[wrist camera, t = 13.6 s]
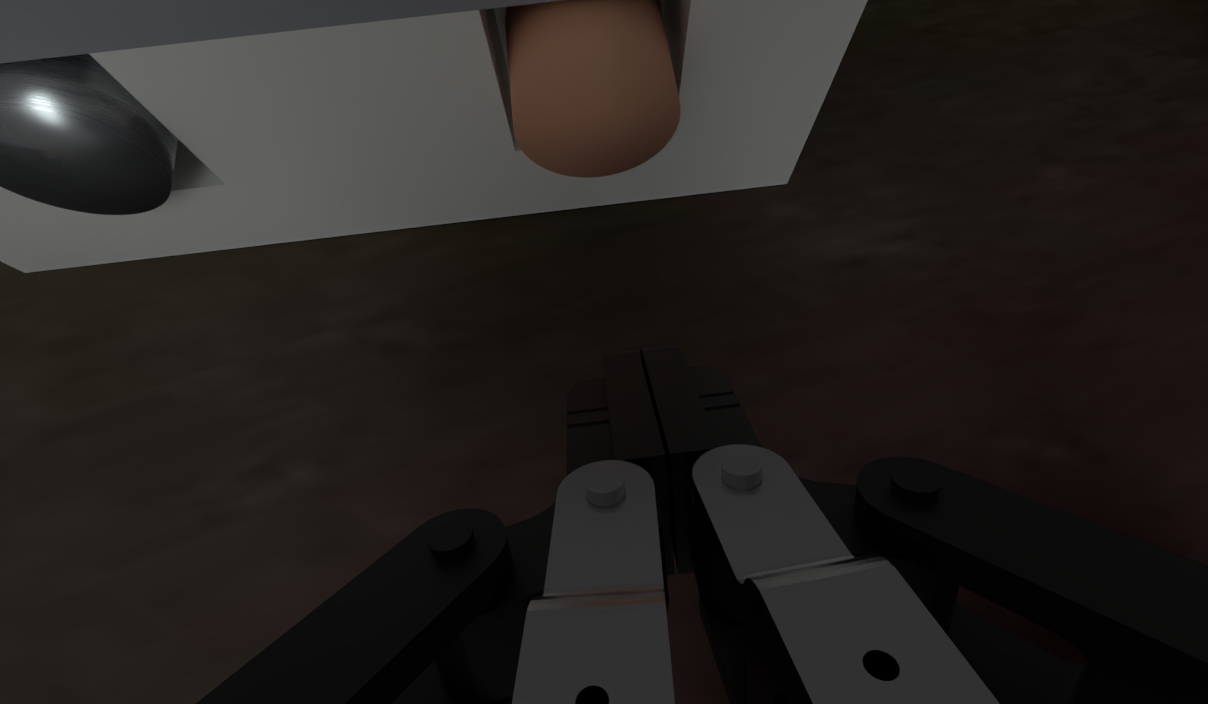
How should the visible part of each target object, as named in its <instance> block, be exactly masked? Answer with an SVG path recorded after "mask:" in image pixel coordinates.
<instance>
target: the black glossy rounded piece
mask: <svg viewBox="0 0 1208 704" xmlns="http://www.w3.org/2000/svg"><path fill="white" fill-rule="evenodd" d="M178 140H179V139H178V138H177V137H176V136H175V135H173V134H172V133H171V132H170V131H169V130H168V129H167V128H166V127H165V126H164V125H163V124H162V123H161V122H160V121H159V120H158V119H157V118H156V117H155V116H154V115H153V114H151V113H150V112H149V111H148V110H147V109H146V108H145V107H144V106H143V105H142V104H141V103H140V102H139V101H138V100H137V99H136V98H135V97H134V96H133V95H132V94H130V93H129V92H128V91H127V90H126V89H125V88H124V87H123V86H122V85H121V84H120V83H119V82H118V81H117V80H116V79H115V78H114V77H113V76H112V75H111V74H110V73H108V72H107V71H106V70H105V69H104V68H103V67H102V66H101V65H100V64H99V63H98V62H97V61H96V60H95V59H94V58H93V57H92V56H91V55H90V54H80V55H71V56H62V57H53V58H45V59H36V60H27V61H18V62H9V63H0V187H3V188H5V189H7V190H9V191H11V192H14V193H16V194H18V195H21V196H24V197H26V198H29V199H32V200H35V201H38V202H41V203H44V204H47V205H51V206H55V207H59V208H63V209H68V210H73V211H78V212H84V213H92V214H102V215H130V214H138V213H143V212H147V211H150V210H153V209H155V208H158V207H159V206H161V205H162V204H163V203H165V202H166V201H167V199H168V197H169V196H170V192H171V186H172V179H173V173H174V166H175V160H176V153H177V147H178Z"/></svg>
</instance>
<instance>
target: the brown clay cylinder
mask: <svg viewBox="0 0 1208 704" xmlns="http://www.w3.org/2000/svg"><path fill="white" fill-rule="evenodd" d="M505 31H506V43H507V55H508V68H509V80H510V92H511V105H512V117H513V128H514V135H515V138H516V141H517V143H518V145H519V147H520V148H521V150H522V151H523V152H524V154H525V155H526V156H527V157H528V158H529V159H530V160H532V161H533V162H534V163H536V164H537V165H539V166H541V167H543V168H544V169H546V170H549V171H552V172H554V173H558V174H561V175H566V176H571V177H585V178H591V177H602V176H609V175H613V174H617V173H621V172H624V171H627V170H630V169H632V168H634V167H637V166H639V165H641V164H642V163H644V162H646V161H648V160H649V159H651V158H652V157H654V156H655V155H656V154H657V153H658V152H660V151H661V150H662V149H663V148H664V147H665V146H666V145H667V143H668V142H669V141H670V139H671V138H672V136H673V135H674V133H675V131H676V129H677V126H678V124H679V120H680V111H681V107H680V101H679V96H678V91H677V86H676V81H675V76H674V71H673V66H672V61H671V56H670V51H669V46H668V41H667V36H666V31H665V26H664V21H663V16H662V11H661V6H660V2H659V0H562V1H553V2H544V3H535V4H526V5H518V6H509V7H507V9H506V15H505Z"/></svg>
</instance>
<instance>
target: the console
mask: <svg viewBox="0 0 1208 704" xmlns="http://www.w3.org/2000/svg"><path fill="white" fill-rule="evenodd" d="M553 1H562V0H0V63H9V62H18V61H27V60H36V59H45V58H53V57H62V56H71V55H80V54H90V55H91V56H92V57H93V58H94V59H95V60H96V61H97V62H98V63H99V64H100V65H101V66H102V67H103V68H104V69H105V70H106V71H107V72H108V73H110V74H111V75H112V76H113V77H114V78H115V79H116V80H117V81H118V82H119V83H120V84H121V85H122V86H123V87H124V88H125V89H126V90H127V91H128V92H129V93H130V94H132V95H133V96H134V97H135V98H136V99H137V100H138V101H139V102H140V103H141V104H142V105H143V106H144V107H145V108H146V109H147V110H148V111H149V112H150V113H151V114H153V115H154V116H155V117H156V118H157V119H158V120H159V121H160V122H161V123H162V124H163V125H164V126H165V127H166V128H167V129H168V130H169V131H170V132H171V133H172V134H173V135H175V136H176V137H177V138H178V139H179V140H178V147H177V153H176V160H175V166H174V173H173V179H172V186H171V192H170V196H169V197H168V199H167V201H166V202H165V203H163V204H162V205H161V206H159V207H158V208H155V209H153V210H150V211H147V212H143V213H138V214H130V215H102V214H92V213H84V212H78V211H73V210H68V209H63V208H59V207H55V206H51V205H47V204H44V203H41V202H38V201H35V200H32V199H29V198H26V197H24V196H21V195H18V194H16V193H14V192H11V191H9V190H7V189H5V188H3V187H0V261H1V262H3V263H6V264H8V265H10V266H12V267H14V268H16V269H18V270H20V271H22V272H24V273H28V272H37V271H45V270H54V269H63V268H71V267H80V266H88V265H97V264H105V263H114V262H122V261H131V260H140V259H148V258H157V257H165V256H174V255H182V254H191V253H199V252H208V251H217V250H225V249H234V248H242V247H251V246H259V245H268V244H276V243H285V242H294V241H302V240H311V239H319V238H328V237H336V236H345V235H353V234H362V233H371V232H379V231H388V230H396V229H405V228H413V227H422V226H430V225H439V224H448V223H456V222H465V221H473V220H482V219H490V218H499V217H507V216H516V215H525V214H533V213H542V212H550V211H559V210H567V209H576V208H584V207H593V206H602V205H610V204H619V203H627V202H636V201H644V200H653V199H661V198H670V197H678V196H687V195H696V194H704V193H713V192H721V191H730V190H738V189H747V188H755V187H764V186H773V185H781V184H787V183H788V181H789V178H790V176H791V174H792V171H793V169H794V167H795V165H796V162H797V160H798V158H799V156H800V153H801V151H802V149H803V146H804V144H805V142H806V140H807V137H808V135H809V133H810V130H811V128H812V126H813V124H814V121H815V119H816V117H817V115H818V112H819V110H820V108H821V105H822V103H823V101H824V99H825V96H826V94H827V92H828V89H829V87H830V85H831V83H832V80H833V78H834V76H835V74H836V71H837V69H838V67H839V64H840V62H841V60H842V58H843V55H844V53H845V51H846V49H847V46H848V44H849V42H850V39H851V37H852V35H853V33H854V30H855V28H856V26H857V23H858V21H859V19H860V17H861V14H862V12H863V10H864V8H865V5H866V3H867V1H868V0H659V2H660V6H661V11H662V16H663V21H664V26H665V31H666V36H667V41H668V46H669V51H670V56H671V61H672V66H673V71H674V76H675V81H676V86H677V91H678V96H679V101H680V107H681V111H680V120H679V124H678V126H677V129H676V131H675V133H674V135H673V136H672V138H671V139H670V141H669V142H668V143H667V145H666V146H665V147H664V148H663V149H662V150H661V151H660V152H658V153H657V154H656V155H655V156H654V157H652V158H651V159H649V160H648V161H646V162H644V163H642V164H641V165H639V166H637V167H634V168H632V169H630V170H627V171H624V172H621V173H617V174H613V175H609V176H602V177H591V178H585V177H571V176H566V175H561V174H558V173H554V172H552V171H549V170H546V169H544V168H543V167H541V166H539V165H537V164H536V163H534V162H533V161H532V160H530V159H529V158H528V157H527V156H526V155H525V154H524V152H523V151H522V150H521V148H520V147H519V145H518V143H517V141H516V138H515V135H514V128H513V117H512V105H511V92H510V80H509V68H508V55H507V43H506V31H505V15H506V9H507V7H509V6H518V5H526V4H535V3H544V2H553Z"/></svg>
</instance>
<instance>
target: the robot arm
mask: <svg viewBox="0 0 1208 704" xmlns="http://www.w3.org/2000/svg"><path fill="white" fill-rule="evenodd" d="M602 361H603V369H604V378H602V379H594V380H586V381H578V382H577V383H576V384H575V386H574V387H573V389H572V390H571V391H570V393H569V394H568V396H567V477H565V479H564V480H563V481H562V482H561V484H560V486H559V488H558V492H557V497H556V502H555V503H554V504H553V505H551V506H550V507H549V508H548V509H546V510H545V511H543V512H541V513H540V514H538V515H536V516H534V517H532V518H529V519H527V520H524V521H521V522H519V523H516V524H513V525H511V526H508V527H505V526H504V524H503V523H502V521H501V520H500V519H499V518H498V517H497V516H496V515H494V514H492V513H491V512H488V511H485V510H480V509H459V510H454V511H450V512H447V513H443V514H441V515H439V516H436V517H434V518H432V519H430V520H429V521H427V522H425V523H424V524H422V525H421V526H420V527H418V528H417V529H416V530H414V531H413V532H412V533H411V534H409V535H408V536H407V537H406V538H404V539H403V540H402V541H401V542H399V543H398V544H397V545H396V546H394V547H393V548H392V549H391V550H389V551H388V552H387V553H385V554H384V555H383V556H382V557H380V558H379V559H378V560H377V561H375V562H374V563H373V564H372V565H370V566H369V567H368V568H367V569H365V570H364V571H363V572H361V573H360V574H359V575H358V576H356V577H355V578H354V579H353V580H351V581H350V582H349V583H348V584H346V585H345V586H344V587H343V588H341V589H340V590H339V591H338V592H336V593H335V594H334V595H332V596H331V597H330V598H329V599H327V600H326V601H325V602H324V603H322V604H321V605H320V606H319V607H317V608H316V609H315V610H314V611H312V612H311V613H310V614H309V615H307V616H306V617H305V618H303V619H302V620H301V621H300V622H298V623H297V624H296V625H295V626H293V627H292V628H291V629H290V630H288V631H287V632H286V633H285V634H283V635H282V636H281V637H279V638H278V639H277V640H276V641H274V642H273V643H272V644H271V645H269V646H268V647H267V648H266V649H264V650H263V651H262V652H261V653H259V654H258V655H257V656H256V657H254V658H253V659H252V660H250V661H249V662H248V663H247V664H245V665H244V666H243V667H242V668H240V669H239V670H238V671H237V672H235V673H234V674H233V675H232V676H230V677H229V678H228V679H226V680H225V681H224V682H223V683H221V684H220V685H219V686H218V687H216V688H215V689H214V690H213V691H211V692H210V693H209V694H208V695H206V696H205V697H204V698H203V699H201V700H200V701H199V702H197V703H196V704H675V699H674V688H673V678H672V667H671V656H670V646H669V635H668V624H667V614H666V611H667V609H668V603H669V596H668V585H667V576H668V575H675V574H674V561H673V551H674V555H675V560H676V564H677V569H678V573H679V574H682V573H690V572H694V573H695V576H696V580H697V584H698V589H699V608H700V616H701V620H702V622H703V625H704V628H705V631H706V634H707V637H708V640H709V643H710V646H711V649H712V652H713V655H714V658H715V661H716V664H717V667H718V670H719V673H720V676H721V679H722V681H723V684H724V687H725V690H726V693H727V696H728V699H729V702H730V704H1208V566H1207V565H1205V564H1202V563H1199V562H1197V561H1194V560H1191V559H1189V558H1186V557H1183V556H1181V555H1178V554H1175V553H1173V552H1170V551H1167V550H1165V549H1162V548H1159V547H1157V546H1154V545H1151V544H1149V543H1146V542H1143V541H1141V540H1138V539H1135V538H1133V537H1130V536H1127V535H1125V534H1122V533H1119V532H1117V531H1114V530H1112V529H1109V528H1106V527H1104V526H1101V525H1098V524H1096V523H1093V522H1090V521H1088V520H1085V519H1082V518H1080V517H1077V516H1074V515H1072V514H1069V513H1066V512H1064V511H1061V510H1058V509H1056V508H1053V507H1050V506H1048V505H1045V504H1042V503H1040V502H1037V501H1034V500H1032V499H1029V498H1027V497H1024V496H1021V495H1019V494H1016V493H1013V492H1011V491H1008V490H1005V489H1003V488H1000V487H997V486H995V485H992V484H989V483H987V482H984V481H981V480H979V479H976V478H973V477H971V476H968V475H965V474H963V473H960V472H957V471H955V470H952V469H949V468H947V467H944V466H941V465H939V464H936V463H933V462H930V461H926V460H922V459H918V458H911V457H887V458H881V459H878V460H875V461H872V462H870V463H868V464H867V465H865V466H864V467H863V468H862V469H861V470H860V472H859V474H858V476H857V483H856V485H847V484H836V483H825V482H817V481H811V480H807V479H803V478H800V477H797V476H796V474H795V473H794V471H793V470H792V469H791V467H790V466H789V464H788V463H787V462H786V461H785V460H784V459H783V458H782V457H781V456H779V455H778V454H776V453H774V452H772V451H770V450H768V449H765V448H762V446H761V444H760V442H759V440H758V438H757V436H756V434H755V433H754V431H753V429H752V427H751V425H750V423H749V421H748V419H747V417H746V415H745V413H744V411H743V409H742V408H741V407H740V404H739V402H738V400H737V398H736V396H735V394H733V390H732V388H731V386H730V384H729V383H728V381H727V379H726V377H725V376H724V375H722V374H721V373H719V372H718V371H716V370H715V369H713V368H712V367H710V366H708V365H706V366H698V367H690V368H688V367H687V365H686V362H685V360H684V358H683V355H682V353H681V350H680V348H679V346H678V344H676V345H668V346H660V347H652V348H643V349H641V358H640V354H639V351H638V349H636V350H628V351H620V352H612V353H604V354H602ZM672 546H673V548H672ZM959 585H960V586H962V587H964V588H966V589H968V590H970V591H972V592H974V593H976V594H978V595H980V596H982V597H984V598H986V599H988V600H990V601H992V602H994V603H996V604H998V605H1000V606H1002V607H1004V608H1006V609H1008V610H1010V611H1012V612H1014V613H1016V614H1018V615H1020V616H1022V617H1024V618H1026V619H1028V620H1030V621H1032V622H1034V623H1036V624H1038V625H1040V626H1042V627H1044V628H1046V629H1048V630H1050V631H1052V632H1054V633H1056V634H1058V635H1060V636H1061V637H1063V638H1065V639H1066V640H1068V641H1069V642H1071V643H1072V644H1073V645H1074V646H1075V647H1077V648H1078V650H1079V651H1080V652H1081V653H1082V654H1083V655H1084V656H1085V658H1086V659H1087V661H1088V663H1089V664H1090V665H1079V664H1075V663H1071V662H1068V661H1066V660H1064V659H1061V658H1059V657H1058V656H1056V655H1054V654H1052V653H1050V652H1048V651H1046V650H1044V649H1042V648H1040V647H1038V646H1036V645H1035V644H1033V643H1031V642H1029V641H1027V640H1025V639H1023V638H1021V637H1019V636H1017V635H1015V634H1014V633H1012V632H1010V631H1008V630H1006V629H1004V628H1002V627H1000V626H998V625H996V624H994V623H993V622H991V621H989V620H987V619H985V618H983V617H981V616H979V615H977V614H975V613H973V612H972V611H970V610H968V609H966V608H964V607H962V606H960V605H958V604H956V598H957V593H958V589H959ZM414 680H415V681H414ZM413 681H414V682H413ZM412 682H413V683H412ZM411 683H412V684H411ZM410 684H411V685H410ZM409 685H410V686H409ZM408 686H409V687H408ZM407 687H408V688H407ZM406 688H407V689H406ZM405 689H406V690H405ZM404 690H405V691H404ZM403 691H404V692H403ZM402 692H403V693H402Z"/></svg>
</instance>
